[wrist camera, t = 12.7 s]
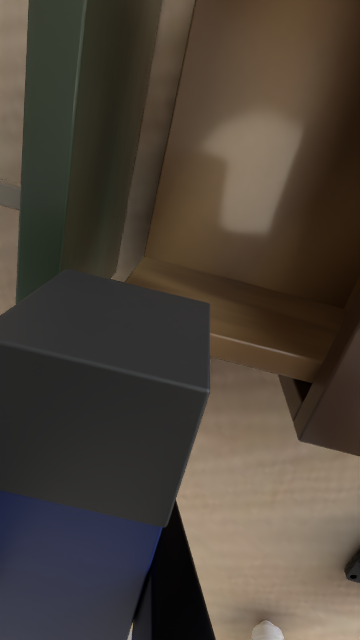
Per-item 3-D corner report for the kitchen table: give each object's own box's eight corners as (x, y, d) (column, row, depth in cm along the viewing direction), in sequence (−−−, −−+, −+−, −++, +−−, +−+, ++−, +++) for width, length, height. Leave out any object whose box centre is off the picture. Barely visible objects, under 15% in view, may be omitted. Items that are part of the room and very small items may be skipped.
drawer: (-4, 241, 17) (-146, 291, 10) (3, -161, 11) (-305, -644, 5) (337, 330, 17) (417, 436, 10) (508, -17, 12) (914, -267, 5)
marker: (132, 576, 11) (107, 712, 9) (40, 555, 11) (-16, 685, 8) (211, 302, 7) (210, 390, 4) (65, 267, 7) (-30, 334, 4)
